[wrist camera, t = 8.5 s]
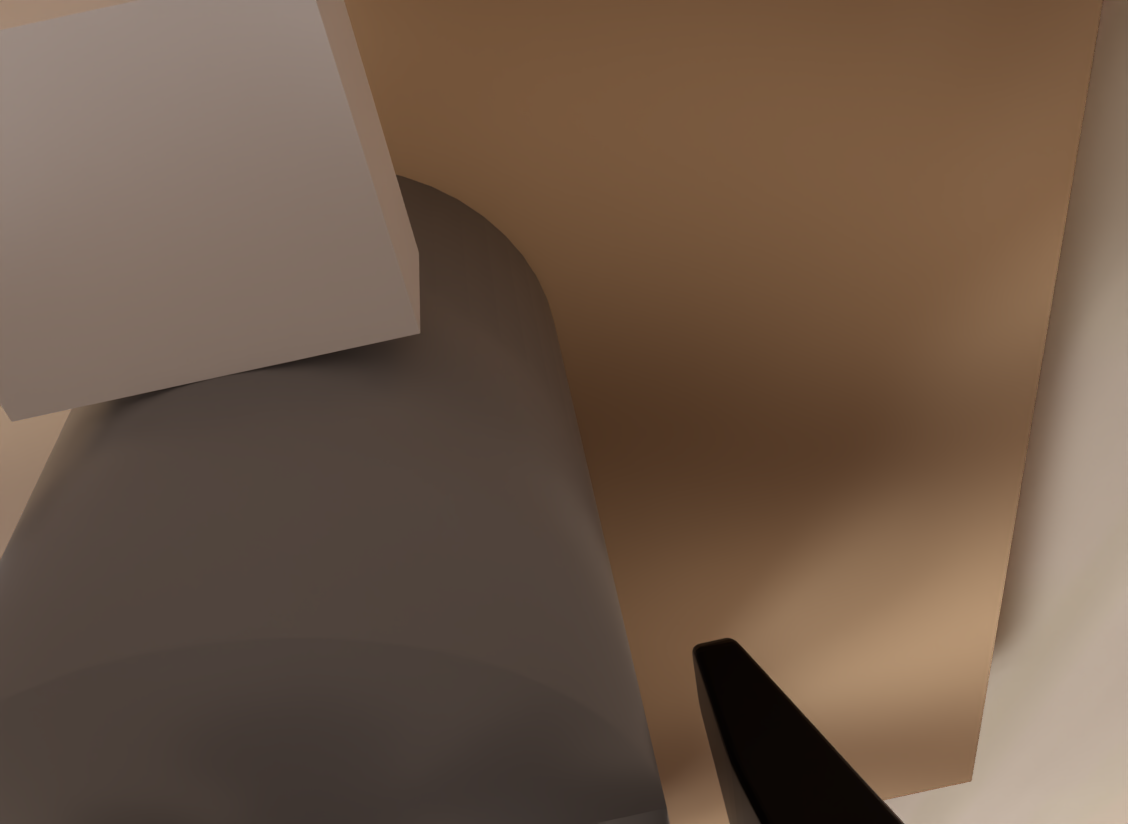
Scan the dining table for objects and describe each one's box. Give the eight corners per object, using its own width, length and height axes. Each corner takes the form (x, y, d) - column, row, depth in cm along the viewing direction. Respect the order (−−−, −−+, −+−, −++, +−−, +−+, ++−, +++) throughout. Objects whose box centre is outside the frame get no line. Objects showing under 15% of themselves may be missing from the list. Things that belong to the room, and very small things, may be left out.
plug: (663, 849, 15) (754, 1259, 11) (416, 902, 15) (420, 1330, 11) (454, -157, 7) (521, 60, 3) (-108, -36, 7) (-868, 362, 3)
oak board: (930, 701, 16) (971, 781, 15) (126, 875, 16) (104, 968, 15) (1081, -672, 7) (1230, -752, 5) (-904, -247, 7) (-1190, -234, 5)
